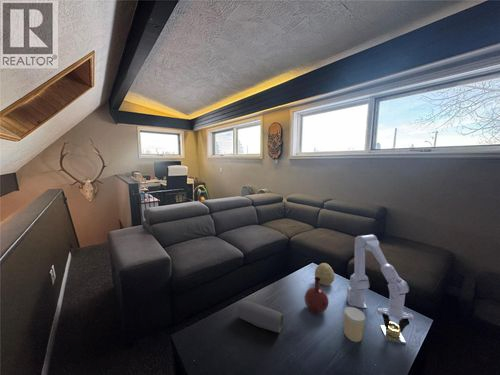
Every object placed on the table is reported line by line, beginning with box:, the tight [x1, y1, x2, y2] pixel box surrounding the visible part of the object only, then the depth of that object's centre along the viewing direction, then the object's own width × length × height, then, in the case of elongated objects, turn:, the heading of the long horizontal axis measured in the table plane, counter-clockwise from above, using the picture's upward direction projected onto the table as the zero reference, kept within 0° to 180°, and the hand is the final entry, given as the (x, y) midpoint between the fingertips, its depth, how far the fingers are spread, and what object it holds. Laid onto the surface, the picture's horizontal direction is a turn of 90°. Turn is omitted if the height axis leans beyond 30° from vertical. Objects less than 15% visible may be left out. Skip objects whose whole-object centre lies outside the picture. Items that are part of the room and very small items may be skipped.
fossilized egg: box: [314, 262, 335, 286], centre depth 137 cm, size 13×13×15 cm
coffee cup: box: [343, 306, 367, 343], centre depth 97 cm, size 9×9×12 cm
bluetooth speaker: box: [237, 300, 284, 334], centre depth 104 cm, size 23×9×10 cm, turn 65°
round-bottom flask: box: [304, 277, 330, 314], centre depth 113 cm, size 13×13×20 cm
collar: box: [386, 321, 401, 338], centre depth 98 cm, size 5×5×4 cm
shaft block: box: [379, 324, 407, 345], centre depth 98 cm, size 8×8×4 cm
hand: (393, 329), depth 98 cm, fingers closed on collar, 5 cm apart
